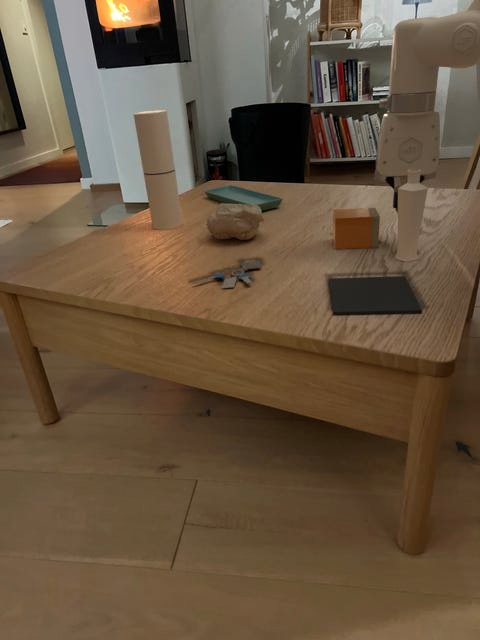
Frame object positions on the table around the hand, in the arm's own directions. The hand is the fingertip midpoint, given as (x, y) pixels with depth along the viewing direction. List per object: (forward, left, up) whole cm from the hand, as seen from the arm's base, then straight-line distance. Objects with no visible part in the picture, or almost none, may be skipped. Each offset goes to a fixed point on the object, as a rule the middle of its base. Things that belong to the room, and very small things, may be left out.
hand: (401, 211), depth 89 cm
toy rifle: (+29, +16, -6) cm, 34 cm away
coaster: (+8, +24, -6) cm, 26 cm away
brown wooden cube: (+8, 0, -3) cm, 9 cm away
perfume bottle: (0, +9, -6) cm, 11 cm away
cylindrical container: (+50, -18, -6) cm, 54 cm away
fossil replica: (+32, -6, -6) cm, 33 cm away
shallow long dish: (+34, -36, -6) cm, 50 cm away
